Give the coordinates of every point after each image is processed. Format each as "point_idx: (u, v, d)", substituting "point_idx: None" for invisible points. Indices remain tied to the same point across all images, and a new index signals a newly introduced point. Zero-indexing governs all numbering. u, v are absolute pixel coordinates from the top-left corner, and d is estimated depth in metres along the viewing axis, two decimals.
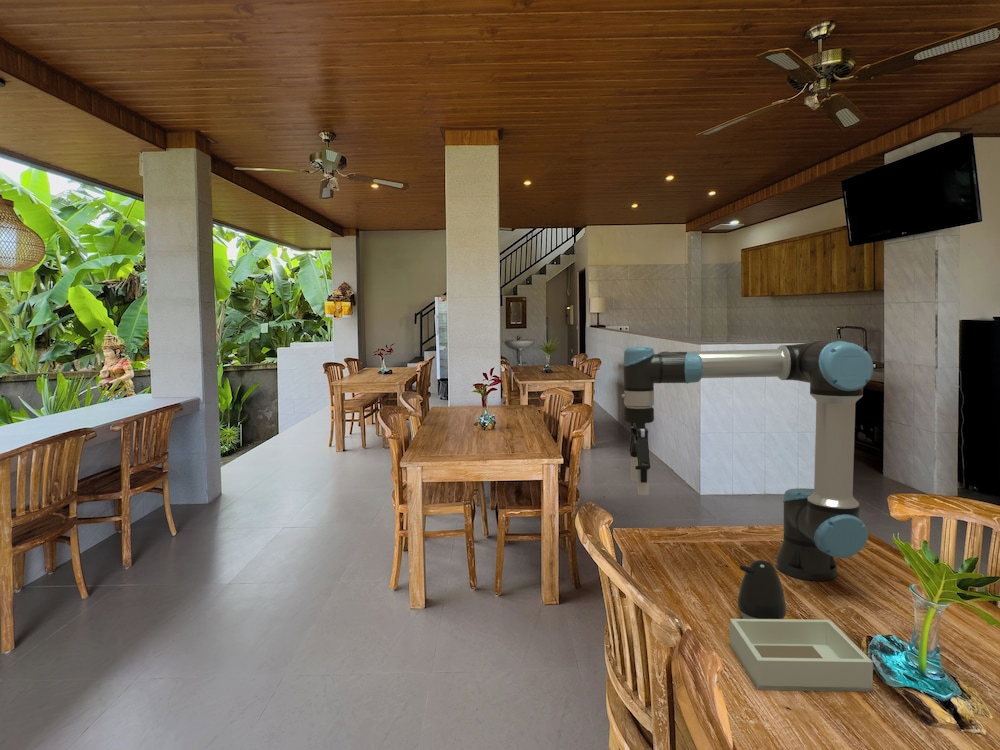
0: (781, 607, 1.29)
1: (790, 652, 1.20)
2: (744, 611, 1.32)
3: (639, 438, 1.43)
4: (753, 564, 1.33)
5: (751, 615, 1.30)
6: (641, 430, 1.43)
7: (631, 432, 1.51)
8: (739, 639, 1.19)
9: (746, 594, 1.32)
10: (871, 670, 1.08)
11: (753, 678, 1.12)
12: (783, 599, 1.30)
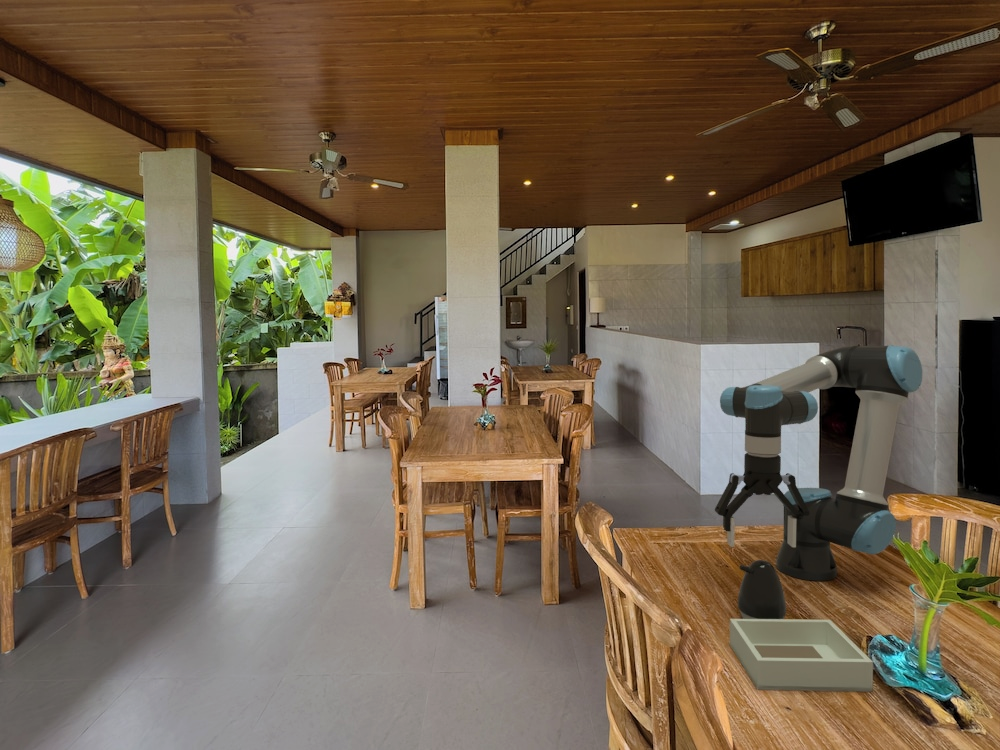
0: (781, 607, 1.29)
1: (790, 652, 1.20)
2: (744, 611, 1.32)
3: (729, 483, 1.33)
4: (753, 564, 1.33)
5: (751, 615, 1.30)
6: (731, 475, 1.32)
7: None
8: (739, 639, 1.19)
9: (746, 594, 1.32)
10: (871, 670, 1.08)
11: (753, 678, 1.12)
12: (783, 599, 1.30)
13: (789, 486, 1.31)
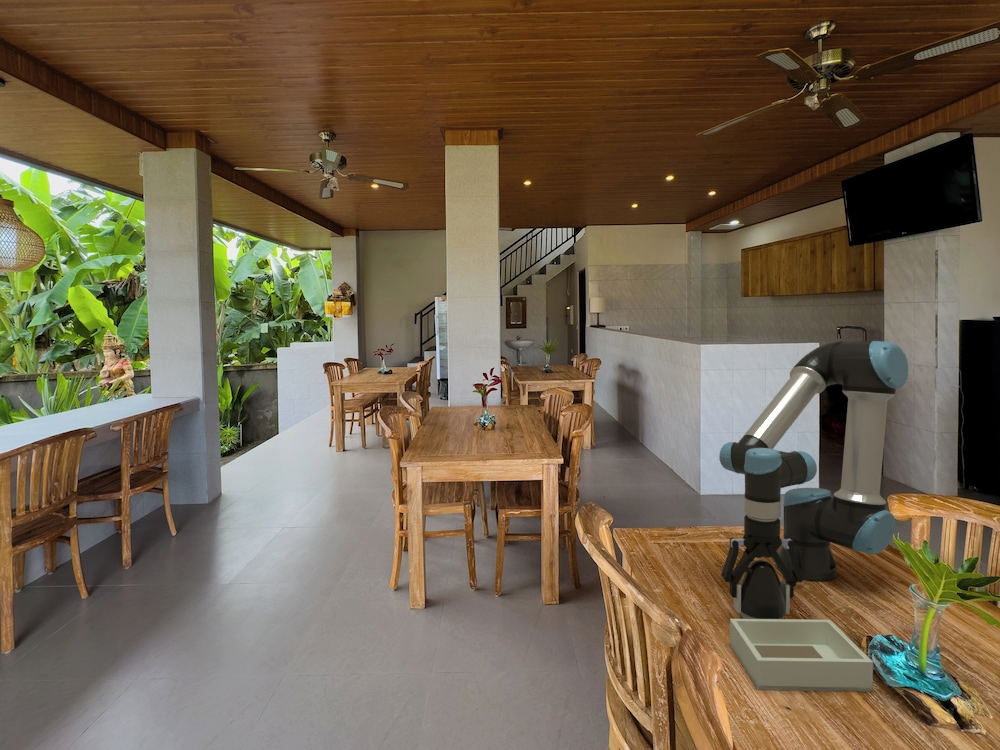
0: (781, 607, 1.29)
1: (790, 652, 1.20)
2: (744, 611, 1.32)
3: (730, 547, 1.34)
4: (753, 564, 1.33)
5: (751, 615, 1.30)
6: (731, 540, 1.33)
7: None
8: (739, 639, 1.19)
9: (746, 594, 1.32)
10: (871, 670, 1.08)
11: (753, 678, 1.12)
12: (783, 599, 1.30)
13: (787, 551, 1.32)
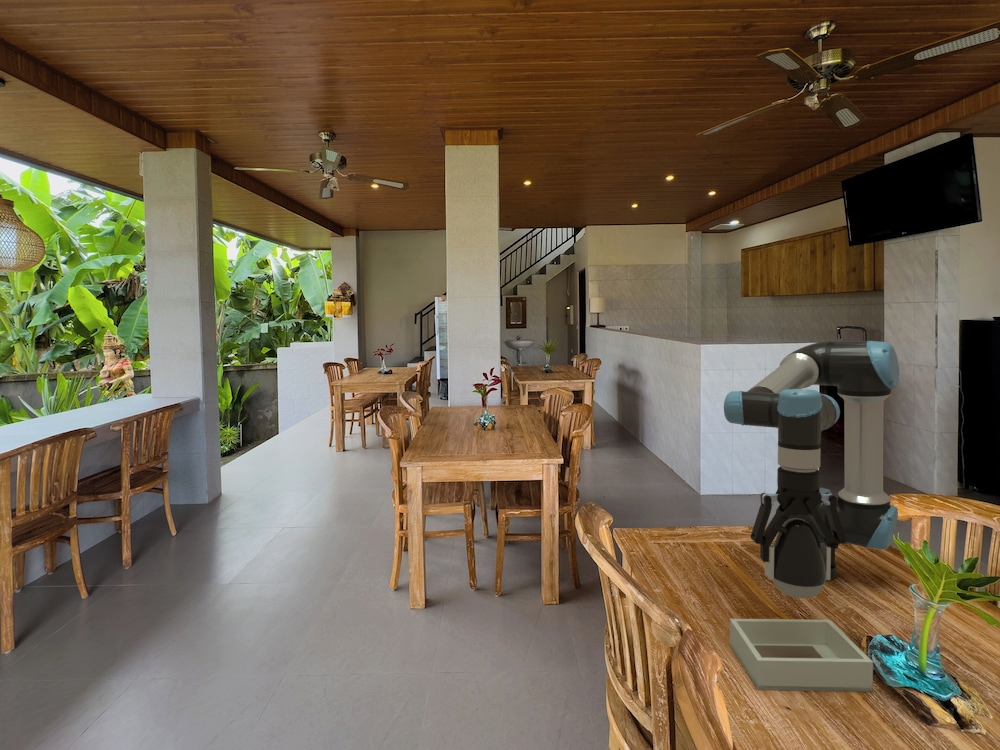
0: (821, 572, 1.11)
1: (790, 652, 1.20)
2: (777, 577, 1.14)
3: (761, 504, 1.16)
4: (787, 523, 1.15)
5: (786, 581, 1.12)
6: (762, 495, 1.15)
7: None
8: (739, 639, 1.19)
9: (780, 557, 1.14)
10: (871, 670, 1.08)
11: (753, 678, 1.12)
12: (823, 563, 1.12)
13: (828, 507, 1.14)
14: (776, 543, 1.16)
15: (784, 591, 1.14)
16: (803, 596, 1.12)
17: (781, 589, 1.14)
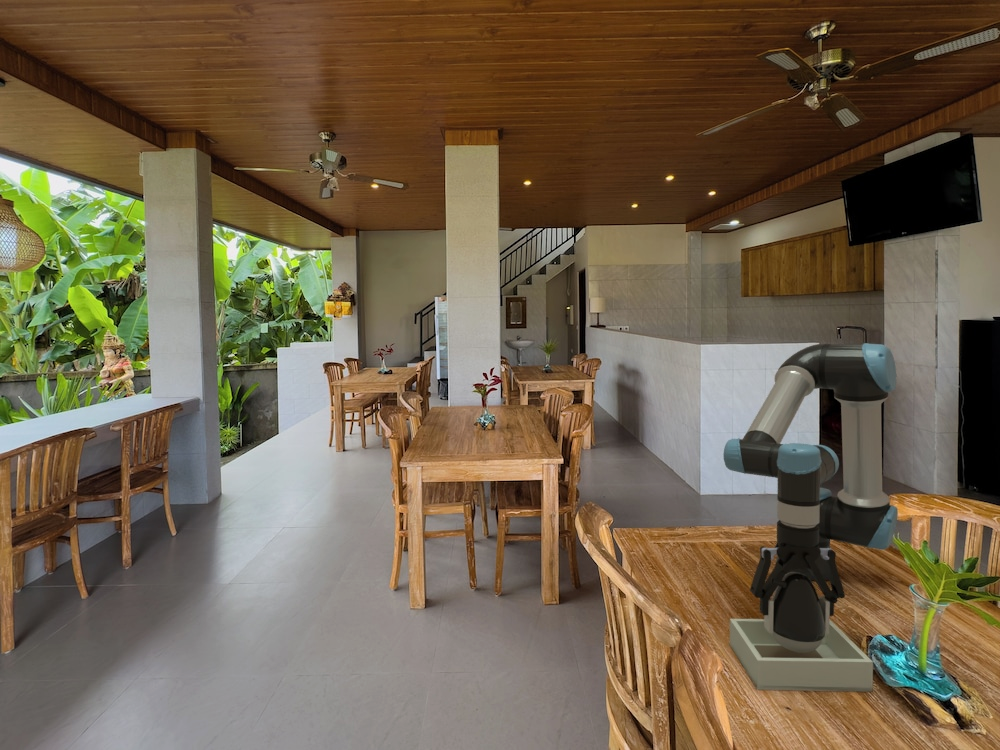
0: (820, 627, 1.12)
1: (790, 652, 1.20)
2: (777, 631, 1.15)
3: (760, 558, 1.17)
4: (787, 577, 1.16)
5: (785, 636, 1.13)
6: (762, 549, 1.16)
7: None
8: (739, 639, 1.19)
9: (779, 611, 1.14)
10: (871, 670, 1.08)
11: (753, 678, 1.12)
12: (822, 617, 1.13)
13: (827, 562, 1.15)
14: (775, 596, 1.16)
15: (783, 645, 1.15)
16: (802, 651, 1.13)
17: (780, 643, 1.15)
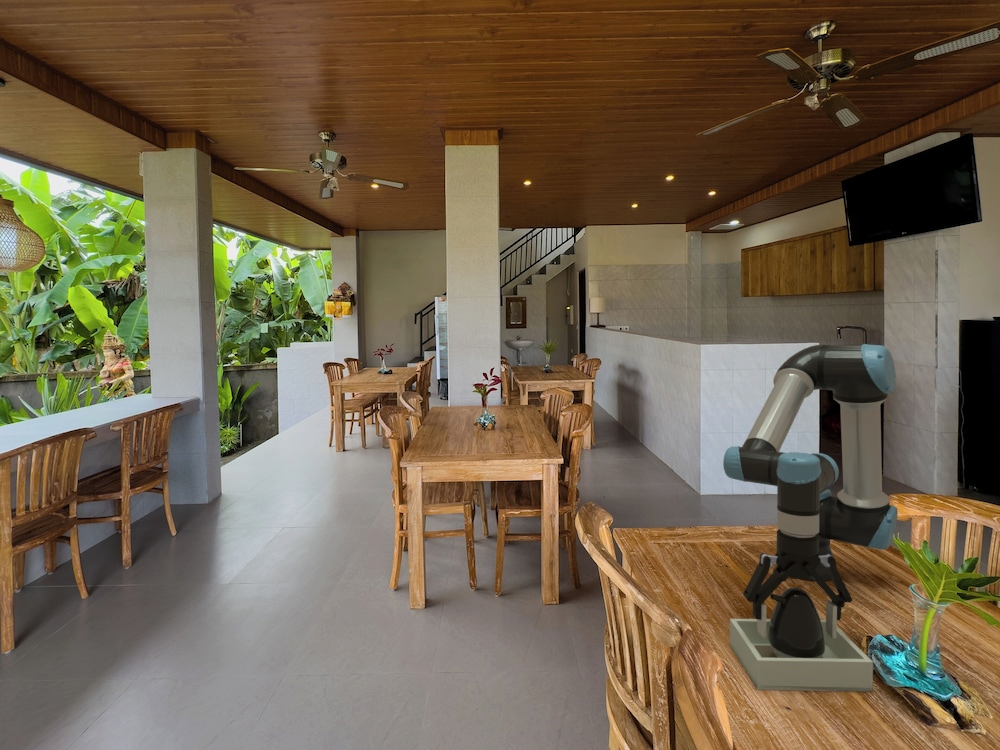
0: (820, 643, 1.12)
1: None
2: (776, 647, 1.15)
3: (759, 564, 1.17)
4: (786, 593, 1.16)
5: (785, 652, 1.13)
6: (762, 555, 1.16)
7: None
8: (739, 639, 1.19)
9: (779, 627, 1.15)
10: (871, 670, 1.08)
11: (753, 678, 1.12)
12: (822, 633, 1.13)
13: (828, 568, 1.15)
14: (775, 612, 1.17)
15: None
16: None
17: None
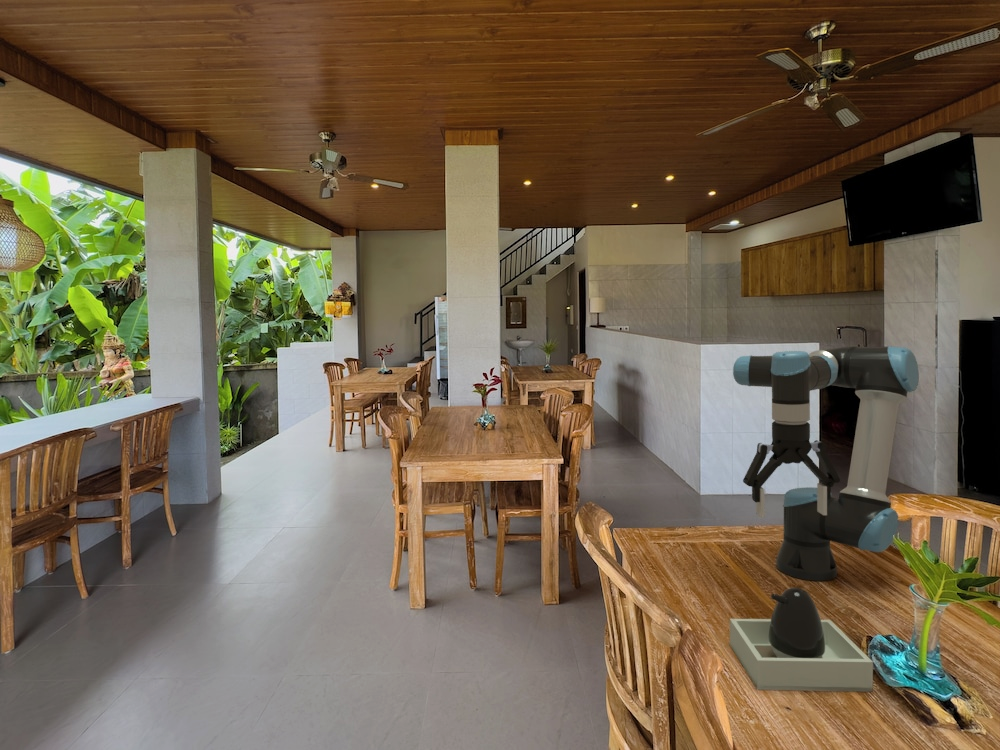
0: (820, 644, 1.12)
1: None
2: (777, 647, 1.15)
3: (757, 453, 1.30)
4: (787, 593, 1.16)
5: (785, 652, 1.13)
6: (759, 445, 1.29)
7: None
8: (739, 639, 1.19)
9: (780, 627, 1.15)
10: (871, 670, 1.08)
11: (753, 678, 1.12)
12: (822, 634, 1.13)
13: (818, 453, 1.28)
14: (775, 612, 1.17)
15: None
16: None
17: None
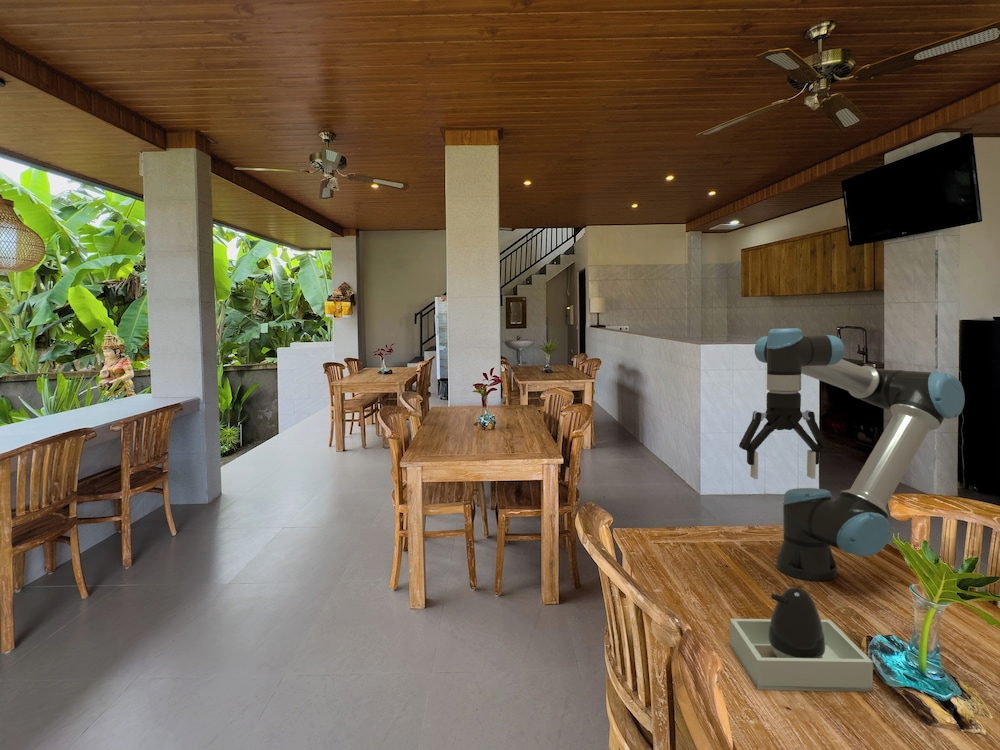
0: (820, 644, 1.12)
1: None
2: (777, 647, 1.15)
3: (752, 420, 1.42)
4: (787, 593, 1.16)
5: (785, 652, 1.13)
6: (754, 412, 1.42)
7: None
8: (739, 639, 1.19)
9: (780, 627, 1.15)
10: (871, 670, 1.08)
11: (753, 678, 1.12)
12: (822, 634, 1.13)
13: (809, 422, 1.40)
14: (775, 612, 1.17)
15: None
16: None
17: None
